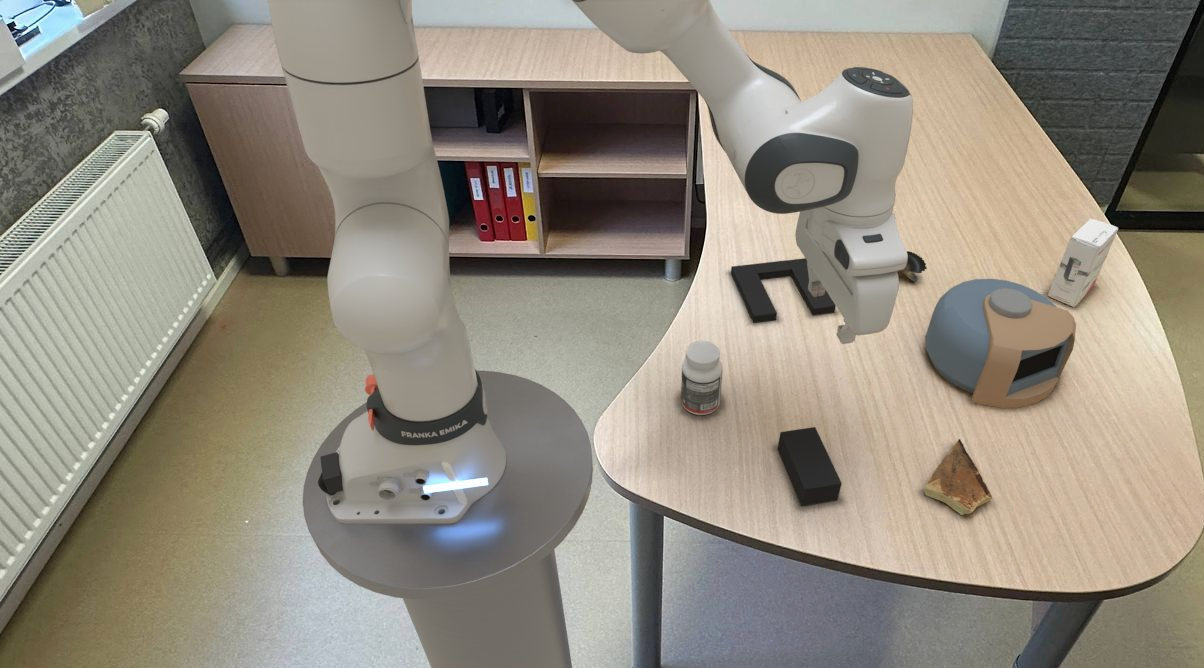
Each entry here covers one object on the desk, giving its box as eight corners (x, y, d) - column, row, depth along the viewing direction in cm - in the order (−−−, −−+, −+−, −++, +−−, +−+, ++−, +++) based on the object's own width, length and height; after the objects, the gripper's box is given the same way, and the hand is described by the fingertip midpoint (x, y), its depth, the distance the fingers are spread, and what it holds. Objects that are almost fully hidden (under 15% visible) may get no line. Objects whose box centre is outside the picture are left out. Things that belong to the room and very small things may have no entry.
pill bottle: (688, 385, 117) (690, 334, 110) (724, 394, 115) (729, 343, 108) (675, 411, 113) (676, 359, 106) (713, 420, 111) (717, 369, 105)
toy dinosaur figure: (876, 292, 132) (929, 282, 131) (870, 250, 131) (924, 239, 130) (866, 288, 139) (916, 279, 139) (860, 248, 138) (911, 239, 138)
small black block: (800, 506, 101) (804, 489, 98) (777, 449, 108) (780, 431, 105) (837, 500, 101) (842, 483, 99) (811, 444, 108) (815, 426, 106)
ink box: (1065, 274, 138) (1091, 215, 130) (1094, 286, 136) (1122, 227, 128) (1044, 296, 134) (1070, 236, 125) (1073, 308, 131) (1101, 248, 123)
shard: (956, 445, 109) (959, 436, 107) (1009, 473, 105) (1013, 464, 104) (920, 492, 102) (923, 483, 101) (975, 523, 99) (979, 515, 98)
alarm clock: (984, 423, 112) (1011, 360, 103) (897, 340, 125) (914, 278, 116) (1082, 384, 118) (1115, 321, 109) (989, 309, 131) (1012, 248, 122)
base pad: (753, 323, 127) (754, 315, 126) (730, 273, 137) (731, 266, 136) (834, 312, 130) (836, 305, 129) (806, 264, 140) (807, 257, 138)
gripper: (790, 176, 94) (777, 271, 104) (859, 273, 80) (837, 373, 90) (839, 171, 95) (822, 265, 105) (916, 266, 81) (888, 365, 91)
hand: (830, 315), depth 97 cm, fingers open, 8 cm apart
